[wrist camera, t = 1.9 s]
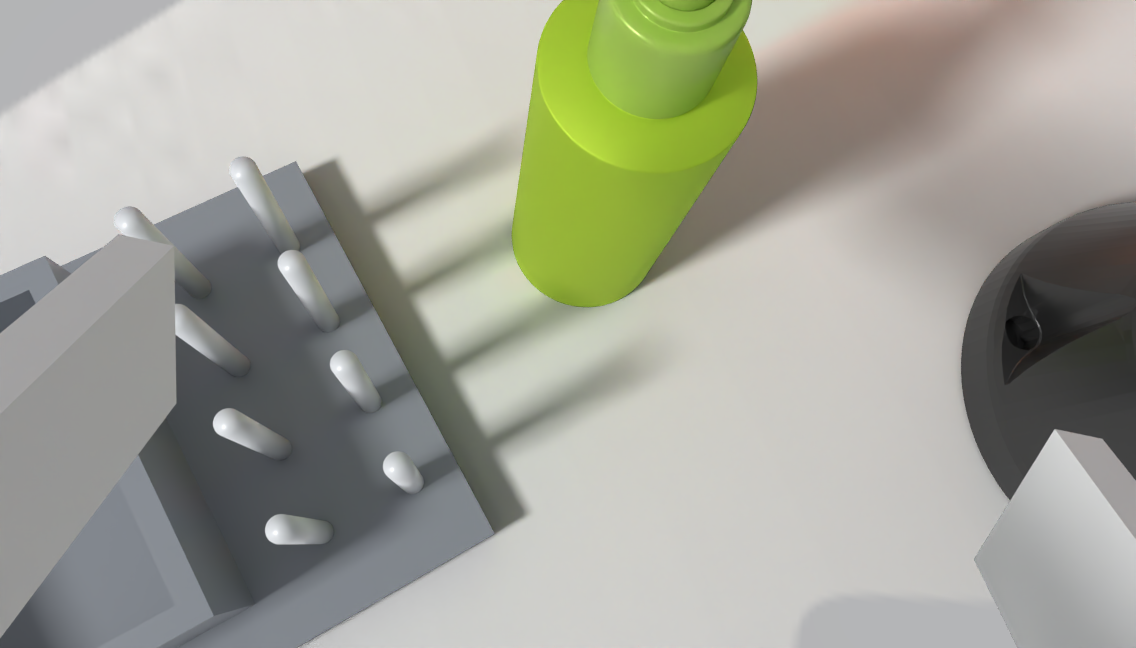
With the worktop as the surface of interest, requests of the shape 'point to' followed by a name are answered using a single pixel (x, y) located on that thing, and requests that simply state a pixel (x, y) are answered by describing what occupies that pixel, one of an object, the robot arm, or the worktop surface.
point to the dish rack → (256, 447)
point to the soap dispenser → (625, 136)
